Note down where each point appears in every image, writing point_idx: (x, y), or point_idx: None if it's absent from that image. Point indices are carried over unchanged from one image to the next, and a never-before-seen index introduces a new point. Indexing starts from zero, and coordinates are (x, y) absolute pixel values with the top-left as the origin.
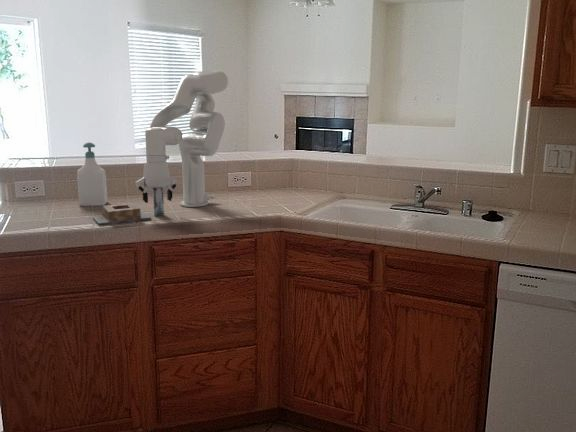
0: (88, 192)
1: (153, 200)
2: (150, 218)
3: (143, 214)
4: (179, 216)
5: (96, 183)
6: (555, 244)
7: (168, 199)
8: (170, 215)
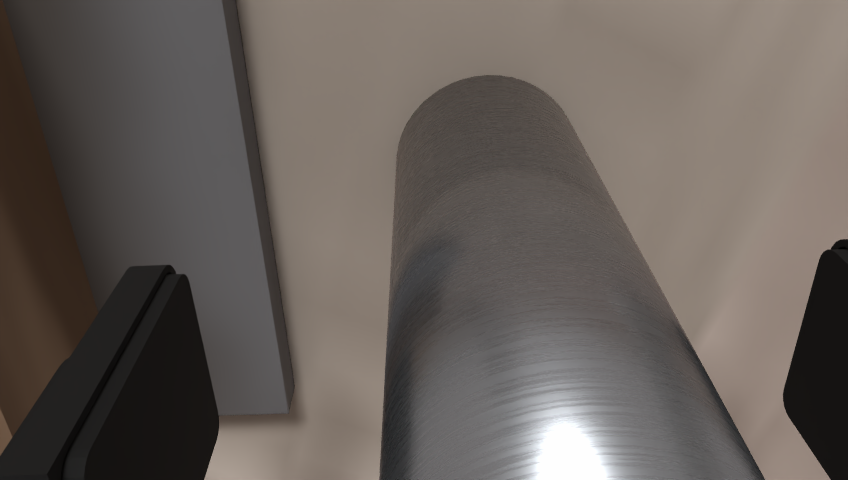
0: None
1: (387, 337)
2: (280, 403)
3: (187, 176)
4: (744, 351)
5: None
6: None
7: (810, 328)
8: (658, 240)
